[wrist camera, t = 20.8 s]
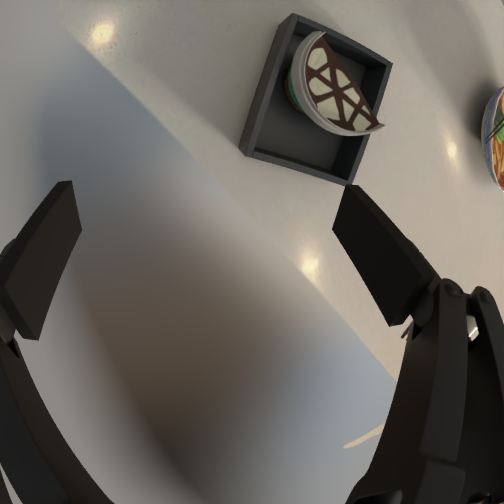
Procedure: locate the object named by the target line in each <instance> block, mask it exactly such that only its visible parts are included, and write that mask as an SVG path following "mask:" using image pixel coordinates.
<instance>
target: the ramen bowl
mask: <svg viewBox="0 0 504 504" xmlns="http://www.w3.org/2000/svg"><path fill="white" fill-rule="evenodd" d="M481 140H482V149H483V156H484V159H485V162H486V164H487V167H488V170H489V172H490V175H491V176H492V178H493V180H494V182H495V183H496V184H497V186H498V187H499V188H500V189H501V190H502V192H503V193H504V87H502V88H500V89H499V90H498V91H496V92H495V93H494V95H493V96H492V97H491V99H490V100H489V102H488V104H487V105H486V108H485V112H484V116H483V120H482V130H481Z"/></svg>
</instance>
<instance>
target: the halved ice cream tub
mask: <svg viewBox="0 0 504 504" xmlns="http://www.w3.org/2000/svg"><path fill="white" fill-rule="evenodd" d="M324 33H326V32H323V33H322V32H321V31H316V32H313V33H311V34H310V35H308V36H307V37H306V38H305V39H304V40H303V41H302V42H301V44H300V45H299V47H298V48H297V50H296V53H295V55H294V57H293V58H292V59H291V60H290V61H289V63H288V64H287V66H286V67H285V69H284V73H283V77H282V86H283V92H284V94H285V97H286V99H287V101H288V102H289V104H290V105H291V106H292V107H293V108H294V109H295V110H296V111H298V112H299V113H301V114H303V115H305V116H308V117H310V118H311V119H312V120H313V121H314V122H315V123H316V124H318V125H319V126H321V127H322V128H324V129H325V130H328V131H330V132H332V133H335V134H339V135H344V136H358V135H365V134H370V133H373V132H375V131H377V130H379V129H381V128H383V127H384V126H386V125H384V124H381V123H379V122H378V120H377V118H376V116H375V115H374V114H373V112H372V110H371V109H370V107H369V105H368V103H367V102H366V100H365V98H364V96H363V94H362V92H361V90H360V88H359V86H358V85H357V83H356V81H355V80H354V78H353V77H352V75H351V74H350V73H349V71H348V70H347V69H346V68H345V66H344V65H343V64H342V62H341V61H340V60H339V59H338V57H337V56H336V54H335V53H334V52H333V50H332V49H331V48H330V46H329V45H328V44H327V42H326V41H325V40H324V38H323V37H322V35H323V34H324Z"/></svg>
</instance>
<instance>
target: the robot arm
mask: <svg viewBox="0 0 504 504" xmlns="http://www.w3.org/2000/svg"><path fill="white" fill-rule="evenodd" d="M332 230H333V232H334V233H335V235H336V236H337V238H338V240H339V241H340V243H341V244H342V246H343V248H344V249H345V251H346V252H347V254H348V256H349V257H350V259H351V261H352V262H353V264H354V266H355V267H356V269H357V271H358V272H359V274H360V276H361V277H362V279H363V281H364V282H365V284H366V286H367V288H368V289H369V291H370V293H371V295H372V296H373V298H374V300H375V302H376V304H377V305H378V307H379V309H380V311H381V313H382V314H383V316H384V318H385V320H386V322H387V324H388V326H389V327H390V326H395V325H400V324H403V323H404V322H405V320H406V319H407V317H408V316H409V315H411V316H412V318H413V321H412V322H411V324H410V325H409V326H408V328H407V329H406V330H405V332H404V333H403V334H402V336H401V338H402V339H403V338H404V337H405V335H407V334H408V337H407V339H406V340H407V342H406V347H405V352H404V357H403V361H402V366H401V370H400V374H399V378H398V382H397V386H396V390H395V393H394V397H393V401H392V404H391V407H390V411H389V414H388V417H387V420H386V423H385V426H384V429H383V432H382V435H381V438H380V441H379V443H378V446H377V449H376V452H375V454H374V457H373V459H372V462H371V464H370V466H369V469H368V471H367V472H366V474H365V475H364V476H363V477H362V478H361V479H360V480H359V481H358V482H357V484H356V485H355V486H354V488H353V490H352V491H351V493H350V495H349V497H348V499H347V501H346V503H345V504H504V324H503V321H502V318H501V315H500V312H499V310H498V307H497V305H496V302H495V300H494V298H493V296H492V295H491V293H490V292H489V291H488V290H487V289H486V288H483V287H481V286H477V287H475V289H474V290H473V292H472V293H471V294H466V293H464V292H463V290H462V289H461V287H460V286H459V285H458V284H457V283H455V282H454V281H452V280H450V279H447V278H443V279H441V278H440V276H439V275H438V274H437V272H436V271H435V270H434V268H433V267H432V266H431V265H430V263H429V262H428V261H427V260H426V258H425V259H424V256H423V255H422V253H421V252H419V250H418V248H417V247H416V246H415V245H414V244H413V243H412V242H411V241H410V240H409V239H407V238H406V237H405V236H404V235H403V233H402V232H401V231H400V230H399V229H398V228H397V226H396V225H395V224H394V223H393V222H392V221H391V220H390V218H389V217H388V216H387V215H386V214H385V213H384V212H383V211H382V210H381V209H380V207H379V206H378V205H377V204H376V203H375V202H374V201H373V200H372V199H371V198H370V197H369V196H368V195H367V194H366V193H365V192H364V191H363V190H362V188H361V187H360V186H359V185H350V184H346V186H345V189H344V192H343V196H342V199H341V202H340V205H339V209H338V212H337V215H336V218H335V221H334V224H333V227H332ZM81 231H82V227H81V223H80V219H79V215H78V210H77V206H76V200H75V195H74V190H73V185H72V181H61V182H58V183H57V184H56V185H55V186H54V188H53V189H52V190H51V191H50V192H49V194H48V195H47V196H46V197H45V199H44V200H43V201H42V202H41V204H40V205H39V206H38V208H37V209H36V210H35V212H34V213H33V214H32V216H31V217H30V218H29V220H28V222H27V223H26V224H25V225H24V227H23V228H22V230H21V231H20V233H19V234H18V235H17V237H16V238H15V239H13V240H12V241H11V242H10V243H9V244H7V245H6V246H5V248H4V249H3V251H2V252H1V254H0V463H1V466H2V468H3V470H4V472H5V474H6V475H7V477H8V479H9V481H10V483H11V485H12V487H13V488H14V490H15V492H16V494H17V495H18V497H19V498H20V500H21V502H22V503H23V504H114V503H113V502H112V501H111V500H110V499H109V498H108V497H107V496H106V495H105V494H104V493H103V491H102V490H101V489H100V488H99V486H98V485H97V484H96V483H95V481H94V480H93V479H92V478H91V476H90V475H89V474H88V473H87V471H86V470H85V468H84V467H83V466H82V464H81V463H80V461H79V460H78V459H77V457H76V456H75V454H74V453H73V451H72V450H71V448H70V447H69V445H68V444H67V442H66V441H65V439H64V438H63V436H62V434H61V433H60V431H59V429H58V428H57V426H56V424H55V423H54V421H53V419H52V417H51V415H50V414H49V412H48V410H47V408H46V406H45V404H44V402H43V400H42V399H41V397H40V395H39V392H38V390H37V388H36V387H35V384H34V382H33V380H32V378H31V376H30V373H29V371H28V369H27V366H26V364H25V361H24V359H23V356H22V354H21V351H20V348H19V346H18V343H17V341H16V340H15V338H14V337H13V336H14V333H15V330H16V329H17V331H18V332H19V334H20V335H21V336H22V338H24V339H31V340H39V337H40V334H41V331H42V327H43V324H44V321H45V318H46V315H47V312H48V309H49V307H50V304H51V301H52V298H53V296H54V293H55V290H56V288H57V285H58V283H59V280H60V278H61V275H62V273H63V270H64V268H65V266H66V263H67V261H68V259H69V256H70V254H71V252H72V250H73V248H74V246H75V244H76V241H77V239H78V237H79V235H80V233H81ZM477 328H478V332H479V335H478V336H477V337H476V338H475V339H474V340H473V341H471V337H470V336H471V335H472V334H473V333H474V332H475V331H476V329H477ZM0 504H13V503H12V501H11V499H10V496H9V493H8V491H7V488H6V485H5V482H4V479H3V476H2V473H1V470H0Z"/></svg>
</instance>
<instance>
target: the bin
mask: <svg viewBox="0 0 504 504" xmlns="http://www.w3.org/2000/svg"><path fill="white" fill-rule="evenodd" d="M316 31H321V32H322V33H323V32H326V33H324V34H323V35H322V37H323V38H324V40H325V41H326V42H327V44H328V45H329V46H330V48H331V49H332V50H333V52H334V53H335V54H336V56H337V57H338V59H339V60H340V61H341V62H342V64H343V65H344V66H345V68H346V69H347V70H348V71H349V73H350V74H351V75H352V77H353V78H354V80H355V81H356V83H357V85H358V86H359V88H360V90H361V92H362V94H363V96H364V98H365V100H366V102H367V103H368V105H369V107H370V109H371V110H372V112H373V114H374V115H375V116H377V113H378V110H379V107H380V104H381V101H382V98H383V95H384V92H385V88H386V85H387V82H388V79H389V75H390V72H391V68H392V65H393V63H391V62H390V61H388V60H387V59H385V58H384V57H382V56H380V55H379V54H377V53H375V52H374V51H372V50H370V49H368V48H367V47H365V46H363V45H361V44H359V43H358V42H356V41H354V40H352V39H350V38H348V37H346V36H344V35H342V34H340V33H338V32H336V31H334V30H332V29H330V28H328V27H326V26H323V25H321V24H319V23H317V22H314V21H312V20H309V19H307V18H305V17H302V16H299V15H297V14H294V13H292V14H291V15H290V16H289V17H287V18H286V19H285V20H284V21H283V22H282V23H281V24H280V25H279V27H278V29H277V32H276V35H275V38H274V40H273V43H272V46H271V49H270V52H269V55H268V57H267V60H266V63H265V66H264V69H263V72H262V75H261V78H260V81H259V84H258V87H257V90H256V93H255V96H254V99H253V102H252V105H251V108H250V112H249V115H248V118H247V121H246V124H245V127H244V131H243V134H242V137H241V140H240V144H239V147H238V149H239V150H240V151H241V152H242V153H243V154H244V155H245V156H247V157H252V158H255V159H258V160H262V161H266V162H269V163H273V164H276V165H280V166H283V167H287V168H290V169H293V170H296V171H300V172H303V173H306V174H309V175H312V176H315V177H319V178H322V179H325V180H328V181H331V182H333V183H336V184H339V185H342V186H346V184H350V185H352V183H353V180H354V178H355V175H356V172H357V170H358V167H359V164H360V162H361V159H362V156H363V154H364V151H365V148H366V145H367V142H368V140H369V137H370V134H371V133H370V134H365V135H358V136H344V135H339V134H335V133H332V132H330V131H328V130H325V129H324V128H322V127H321V126H319V125H318V124H316V123H315V122H314V121H313V120H312V119H311V118H310V117H308V116H305V115H303V114H301V113H299V112H298V111H296V110H295V109H294V108H293V107H292V106H291V105H290V104H289V102H288V101H287V99H286V97H285V94H284V92H283V86H282V77H283V73H284V69H285V67H286V66H287V64H288V63H289V61H290V60H291V59H292V58H293V57H294V55H295V53H296V50H297V48H298V47H299V45H300V44H301V42H302V41H303V40H304V39H305V38H306V37H307V36H308V35H310V34H311V33H313V32H316Z"/></svg>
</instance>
